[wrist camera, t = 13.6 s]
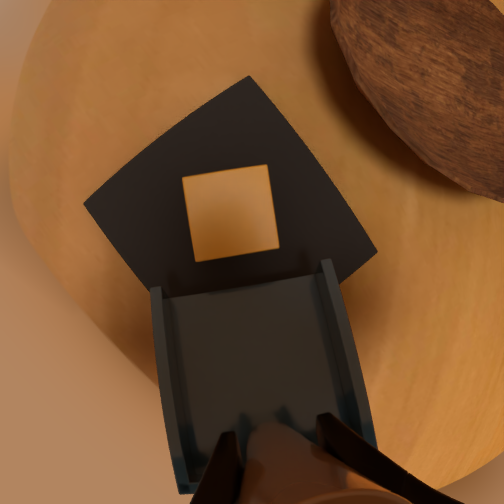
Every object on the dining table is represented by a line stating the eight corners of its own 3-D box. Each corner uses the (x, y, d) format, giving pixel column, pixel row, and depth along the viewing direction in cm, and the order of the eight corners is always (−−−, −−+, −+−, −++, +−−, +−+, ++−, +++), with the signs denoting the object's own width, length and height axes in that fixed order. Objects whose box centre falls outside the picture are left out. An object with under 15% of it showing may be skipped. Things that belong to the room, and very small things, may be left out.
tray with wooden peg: (362, 449, 13) (571, 496, 2) (189, 482, 12) (47, 621, 1) (322, 275, 18) (412, 67, 6) (162, 302, 17) (30, 116, 5)
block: (280, 248, 15) (267, 163, 14) (195, 262, 15) (181, 177, 14) (267, 240, 19) (257, 173, 18) (200, 251, 19) (189, 183, 18)
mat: (220, 369, 20) (220, 372, 20) (85, 203, 18) (82, 203, 17) (375, 251, 20) (378, 252, 20) (248, 77, 18) (249, 74, 17)
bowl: (324, -49, 17) (342, -84, 12) (510, 55, 19) (539, 43, 14) (282, 145, 19) (302, 124, 14) (508, 230, 21) (548, 236, 16)
